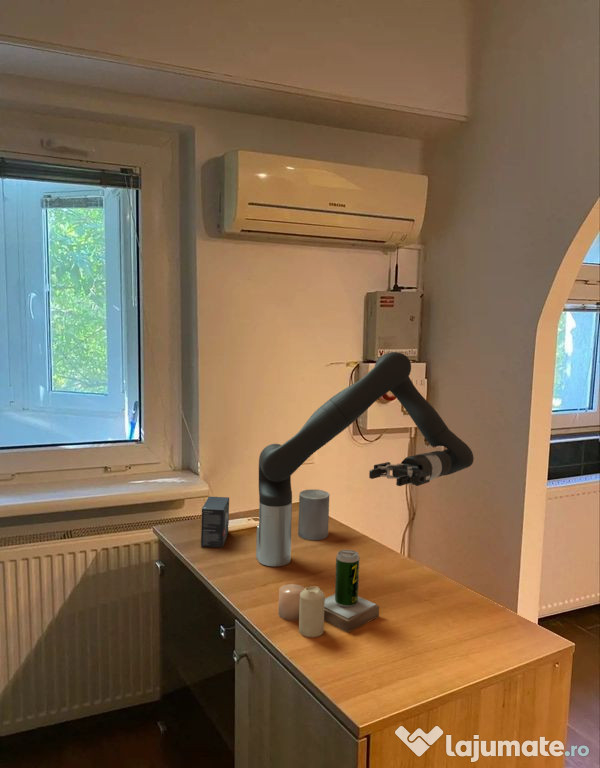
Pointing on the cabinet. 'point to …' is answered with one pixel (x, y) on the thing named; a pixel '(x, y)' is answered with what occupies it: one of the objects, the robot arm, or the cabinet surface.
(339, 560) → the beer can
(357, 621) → the podium
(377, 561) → the cabinet surface
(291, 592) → the peach rounded cylinder
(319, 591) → the candle
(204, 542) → the small box
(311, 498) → the pillar candle
